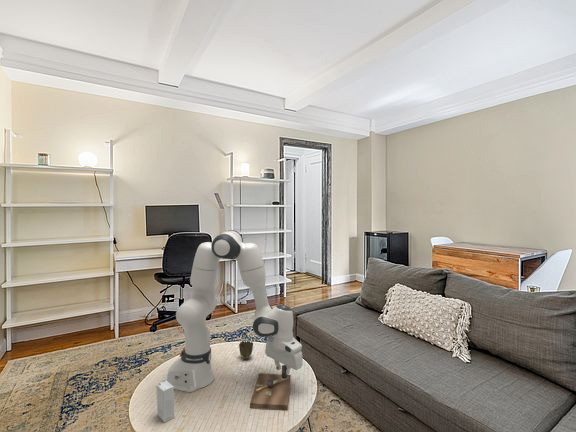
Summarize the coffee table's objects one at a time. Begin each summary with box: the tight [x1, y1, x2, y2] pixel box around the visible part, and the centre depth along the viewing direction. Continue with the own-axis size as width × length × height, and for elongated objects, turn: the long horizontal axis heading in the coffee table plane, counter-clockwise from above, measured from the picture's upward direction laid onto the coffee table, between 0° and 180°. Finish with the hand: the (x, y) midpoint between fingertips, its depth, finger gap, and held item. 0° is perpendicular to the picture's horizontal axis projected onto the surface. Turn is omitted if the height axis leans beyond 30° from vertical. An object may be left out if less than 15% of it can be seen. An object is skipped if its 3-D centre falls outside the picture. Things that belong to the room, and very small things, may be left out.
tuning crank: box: [256, 364, 287, 391], centre depth 136 cm, size 16×3×6 cm, turn 130°
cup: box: [238, 340, 254, 361], centre depth 163 cm, size 8×7×8 cm
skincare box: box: [156, 381, 176, 423], centre depth 118 cm, size 6×4×12 cm
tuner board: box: [249, 372, 292, 411], centre depth 134 cm, size 15×22×2 cm
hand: (282, 371), depth 140 cm, fingers open, 4 cm apart
